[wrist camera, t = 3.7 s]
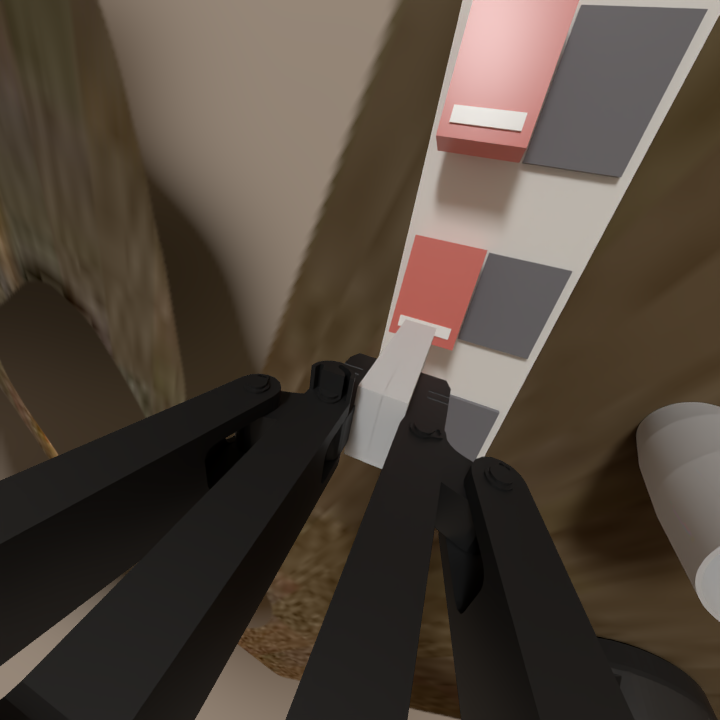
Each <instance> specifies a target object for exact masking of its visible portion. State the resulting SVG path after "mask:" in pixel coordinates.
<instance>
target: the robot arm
mask: <svg viewBox="0 0 720 720" xmlns="http://www.w3.org/2000/svg"><path fill="white" fill-rule="evenodd" d="M436 329H437V328H434V327H431V326H427V325H424V324H420V323H417V322H413V321H410V320H406V319H405V321H404V322H403V324H402V325H401V326H400V328H399V329H398V331H397V332H396V333H395V335H394V336H393V338H392V339H391V340H390V342H389V343H388V345H387V346H386V347H385V349H384V350H383V352H382V353H381V354H380V356H379V357H378V359H376V358H373V357H370V356H367V355H364V354H361V353H360V354H357V355H354V356H352V357H350V358H349V359H348V360H347V361H346V362H345V364H343V363H340V362H336V361H321V362H317V363H315V364H313V365H312V370H311V379H310V388H309V390H308V391H307V392H306V393H303V394H302V393H291V392H284V391H281V385H280V382H279V381H278V380H277V379H276V378H274V377H272V376H269V375H265V374H250V375H247V376H244V377H241V378H239V379H236V380H234V381H232V382H229V383H227V384H225V385H222V386H220V387H218V388H215V389H213V390H211V391H208V392H206V393H204V394H201V395H199V396H197V397H194V398H192V399H190V400H187V401H185V402H183V403H180V404H178V405H176V406H173V407H171V408H169V409H166V410H164V411H162V412H159V413H157V414H155V415H152V416H150V417H148V418H145V419H143V420H141V421H138V422H136V423H134V424H131V425H129V426H127V427H124V428H122V429H120V430H118V431H115V432H113V433H110V434H108V435H106V436H103V437H101V438H99V439H96V440H94V441H92V442H89V443H87V444H85V445H82V446H80V447H78V448H75V449H73V450H71V451H68V452H66V453H64V454H61V455H59V456H57V457H54V458H52V459H50V460H47V461H45V462H43V463H40V464H38V465H36V466H33V467H31V468H29V469H27V470H24V471H22V472H19V473H17V474H15V475H13V476H10V477H8V478H5V479H3V480H1V481H0V666H1V665H2V664H4V663H5V662H6V661H7V660H9V659H10V658H12V657H13V656H14V655H16V654H17V653H18V652H20V651H21V650H22V649H24V648H25V647H26V646H28V645H29V644H30V643H31V642H33V641H34V640H35V639H36V638H38V637H39V636H41V635H42V634H43V633H45V632H46V631H47V630H49V629H50V628H51V627H53V626H54V625H55V624H56V623H58V622H59V621H61V620H62V619H63V618H65V617H66V616H67V615H69V614H70V613H71V612H72V611H74V610H75V609H76V608H77V607H79V606H80V605H82V604H83V603H84V602H86V601H87V600H88V599H90V598H91V597H92V596H94V595H95V594H96V593H98V592H99V591H100V590H102V589H103V588H104V587H106V586H107V585H108V584H109V583H111V582H112V581H113V580H115V579H116V578H117V577H119V576H120V575H121V574H123V573H124V572H125V571H126V570H128V569H129V568H131V567H132V566H133V565H134V564H136V563H137V562H138V563H137V564H136V565H135V566H134V567H133V568H132V570H130V571H129V573H128V574H126V575H125V576H124V578H123V579H122V580H121V581H120V582H119V583H118V584H117V585H116V586H115V587H114V588H113V589H112V590H111V591H110V592H109V593H108V594H107V595H106V596H105V597H104V598H103V599H102V600H101V601H100V602H99V603H98V604H97V605H96V606H95V607H94V608H93V609H92V610H91V611H90V612H89V613H88V614H87V615H86V616H85V617H84V618H83V619H82V620H81V621H80V622H79V623H78V624H77V625H76V626H75V627H74V628H73V629H72V630H71V631H70V632H69V633H68V634H67V635H66V636H65V637H64V639H62V640H61V642H60V643H59V644H58V645H57V646H56V647H55V648H54V649H53V650H52V651H51V652H50V653H49V654H48V655H47V656H46V657H45V658H44V659H43V660H42V661H41V662H40V663H39V664H38V665H37V666H36V667H35V668H34V669H33V670H32V671H31V672H30V673H29V674H28V675H27V676H26V677H25V678H24V679H23V680H22V681H21V682H20V683H19V684H18V685H17V686H16V687H15V688H13V689H12V690H11V691H10V692H9V693H8V694H7V695H6V696H5V697H3V698H2V699H1V700H0V720H195V718H196V716H197V715H198V713H199V711H200V709H201V707H202V706H203V704H204V702H205V700H206V699H207V697H208V695H209V693H210V691H211V690H212V688H213V686H214V685H215V683H216V681H217V679H218V677H219V675H220V674H221V672H222V670H223V668H224V667H225V665H226V663H227V661H228V660H229V658H230V656H231V654H232V652H233V651H234V649H235V647H236V645H237V644H238V642H239V640H240V638H241V636H242V635H243V633H244V631H245V629H246V628H247V626H248V624H249V622H250V620H251V619H252V617H253V615H254V613H255V612H256V610H257V608H258V606H259V604H260V603H261V601H262V599H263V597H264V596H265V594H266V592H267V590H268V588H269V587H270V585H271V583H272V581H273V580H274V578H275V576H276V574H277V572H278V571H279V569H280V567H281V565H282V564H283V562H284V560H285V558H286V556H287V555H288V553H289V551H290V549H291V548H292V546H293V544H294V542H295V540H296V539H297V537H298V535H299V533H300V532H301V530H302V528H303V526H304V524H305V523H306V521H307V519H308V517H309V516H310V514H311V512H312V510H313V508H314V507H315V505H316V503H317V501H318V500H319V498H320V496H321V494H322V492H323V491H324V489H325V487H326V485H327V484H328V482H329V480H330V478H331V476H332V475H333V473H334V471H335V469H336V468H337V466H338V462H339V458H340V453H341V451H342V450H343V448H344V446H345V445H346V447H345V451H344V454H346V455H349V456H351V457H354V458H356V459H358V460H361V461H363V462H366V463H368V464H370V465H373V466H375V467H378V468H380V469H382V470H381V473H380V476H379V478H378V481H377V483H376V486H375V489H374V491H373V494H372V496H371V499H370V502H369V504H368V507H367V509H366V512H365V515H364V517H363V520H362V522H361V525H360V528H359V530H358V533H357V535H356V538H355V541H354V543H353V546H352V548H351V551H350V554H349V556H348V559H347V561H346V564H345V567H344V569H343V572H342V574H341V577H340V580H339V582H338V585H337V587H336V590H335V592H334V595H333V598H332V600H331V603H330V605H329V608H328V611H327V613H326V616H325V618H324V621H323V624H322V626H321V629H320V631H319V634H318V637H317V639H316V642H315V644H314V647H313V650H312V652H311V655H310V657H309V660H308V663H307V665H306V668H305V670H304V673H303V676H302V678H301V681H300V683H299V686H298V689H297V691H296V694H295V696H294V699H293V702H292V704H291V707H290V709H289V712H288V715H287V717H286V720H407V719H408V712H409V711H408V710H409V705H410V698H411V690H412V683H413V676H414V669H415V662H416V655H417V648H418V641H419V634H420V627H421V620H422V613H423V606H424V598H425V591H426V584H427V577H428V570H429V563H430V556H431V549H432V542H433V535H434V528H436V529H437V530H438V531H439V543H440V551H441V559H442V568H443V576H444V584H445V592H446V600H447V608H448V616H449V624H450V632H451V640H452V648H453V656H454V665H455V673H456V681H457V689H458V697H459V705H460V713H461V720H718V719H717V717H716V715H715V713H714V711H713V709H712V707H711V705H710V703H709V701H708V699H707V697H706V695H705V693H704V691H703V690H702V689H701V687H700V686H699V685H698V684H697V683H696V682H695V681H694V680H693V679H692V678H691V677H690V676H688V675H687V674H686V673H685V672H683V671H682V670H680V669H679V668H677V667H676V666H674V665H672V664H671V663H669V662H667V661H665V660H663V659H661V658H659V657H657V656H655V655H653V654H651V653H649V652H646V651H644V650H641V649H638V648H636V647H633V646H630V645H626V644H623V643H619V642H616V641H612V640H607V639H602V638H597V637H596V634H595V632H594V630H593V628H592V626H591V624H590V621H589V619H588V617H587V615H586V613H585V611H584V608H583V606H582V604H581V602H580V600H579V598H578V595H577V593H576V591H575V589H574V587H573V584H572V582H571V580H570V578H569V576H568V574H567V571H566V569H565V567H564V565H563V563H562V561H561V558H560V556H559V554H558V552H557V550H556V547H555V545H554V543H553V541H552V539H551V537H550V534H549V532H548V530H547V528H546V526H545V524H544V521H543V519H542V517H541V515H540V513H539V510H538V508H537V506H536V504H535V502H534V500H533V497H532V495H531V493H530V491H529V489H528V487H527V484H526V483H525V481H524V480H523V478H522V477H521V475H520V474H519V473H518V472H517V471H516V470H514V469H513V468H512V467H511V466H509V465H508V464H506V463H504V462H503V461H501V460H498V459H495V458H492V457H480V458H477V459H475V460H474V462H472V461H471V460H469V459H468V458H466V457H464V456H463V455H461V454H460V453H459V452H457V451H456V450H455V449H454V448H453V447H452V446H451V445H450V444H449V442H448V441H447V436H446V432H445V424H446V417H447V411H448V404H449V397H450V391H451V389H450V387H449V385H448V383H447V381H446V380H443V379H440V378H437V377H434V376H431V375H428V374H425V373H422V372H423V369H424V365H425V362H426V359H427V356H428V353H429V350H430V347H431V344H432V341H433V338H434V335H435V332H436ZM233 433H235V436H233V437H231V438H229V439H225V438H226V437H228V436H229V435H231V434H233Z"/></svg>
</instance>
